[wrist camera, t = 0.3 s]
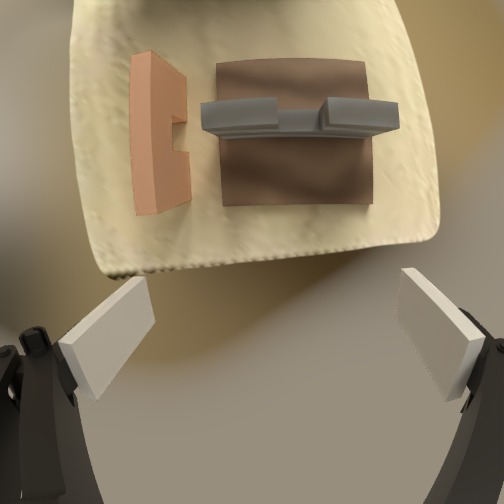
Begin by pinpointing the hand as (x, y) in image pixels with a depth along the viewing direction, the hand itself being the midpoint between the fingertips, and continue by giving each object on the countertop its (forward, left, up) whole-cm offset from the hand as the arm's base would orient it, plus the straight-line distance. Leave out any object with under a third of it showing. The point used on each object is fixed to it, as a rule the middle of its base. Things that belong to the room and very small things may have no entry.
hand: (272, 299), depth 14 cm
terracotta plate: (-11, -13, -26) cm, 31 cm away
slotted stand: (-11, +3, -26) cm, 29 cm away
